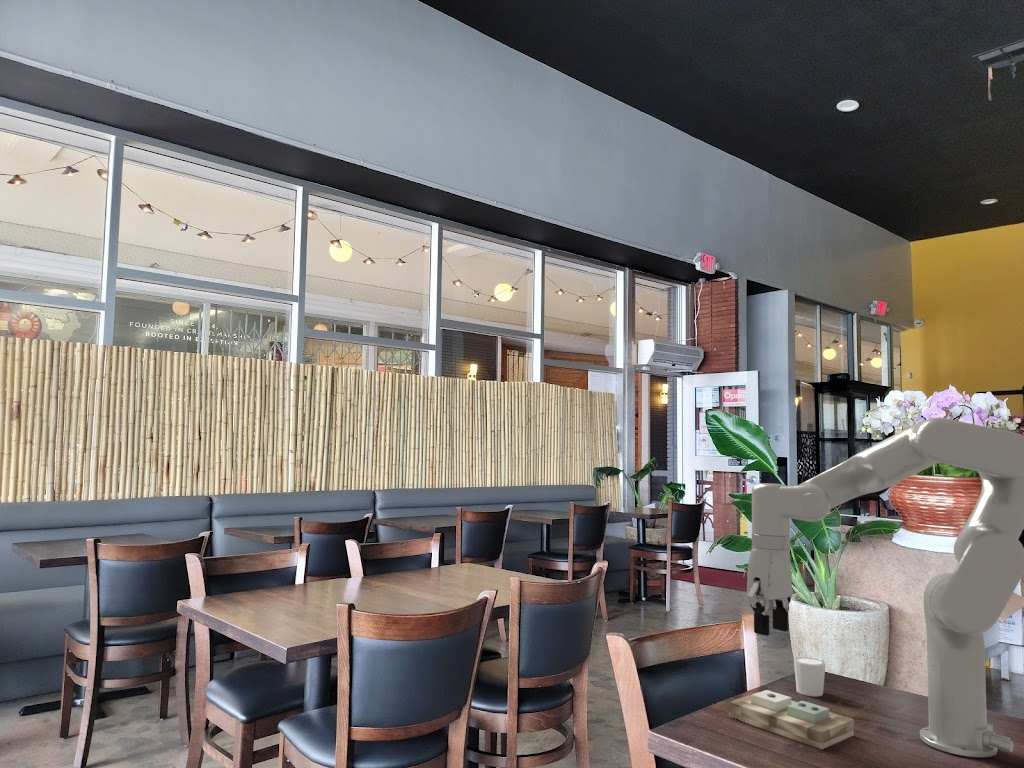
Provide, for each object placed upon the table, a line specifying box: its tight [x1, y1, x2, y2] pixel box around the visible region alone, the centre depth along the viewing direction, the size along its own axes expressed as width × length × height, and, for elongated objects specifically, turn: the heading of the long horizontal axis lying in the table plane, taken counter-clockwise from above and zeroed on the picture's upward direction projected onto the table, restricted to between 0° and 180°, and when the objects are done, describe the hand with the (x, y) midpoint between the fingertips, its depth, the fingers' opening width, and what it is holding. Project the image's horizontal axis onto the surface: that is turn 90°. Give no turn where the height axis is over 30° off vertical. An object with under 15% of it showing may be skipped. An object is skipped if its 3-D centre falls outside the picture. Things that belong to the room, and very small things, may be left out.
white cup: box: [793, 657, 826, 697], centre depth 168 cm, size 7×7×7 cm
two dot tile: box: [787, 700, 830, 724], centre depth 143 cm, size 6×6×2 cm
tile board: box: [728, 694, 855, 750], centre depth 146 cm, size 20×12×3 cm, turn 39°
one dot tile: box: [750, 689, 792, 712], centre depth 149 cm, size 6×6×2 cm
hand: (771, 631), depth 151 cm, fingers open, 6 cm apart
